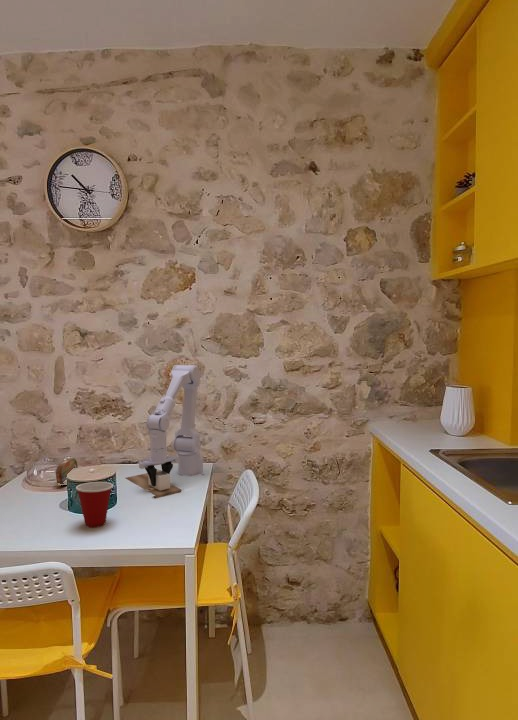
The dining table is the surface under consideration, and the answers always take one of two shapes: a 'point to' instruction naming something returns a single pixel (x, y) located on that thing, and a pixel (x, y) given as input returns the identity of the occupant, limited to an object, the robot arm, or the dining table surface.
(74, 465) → the brown arched piece
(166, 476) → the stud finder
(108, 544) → the dining table surface
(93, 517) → the plastic cup
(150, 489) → the floorboard
